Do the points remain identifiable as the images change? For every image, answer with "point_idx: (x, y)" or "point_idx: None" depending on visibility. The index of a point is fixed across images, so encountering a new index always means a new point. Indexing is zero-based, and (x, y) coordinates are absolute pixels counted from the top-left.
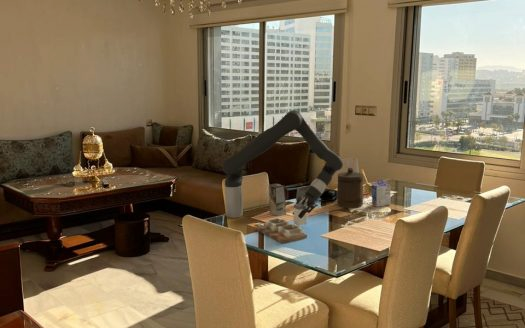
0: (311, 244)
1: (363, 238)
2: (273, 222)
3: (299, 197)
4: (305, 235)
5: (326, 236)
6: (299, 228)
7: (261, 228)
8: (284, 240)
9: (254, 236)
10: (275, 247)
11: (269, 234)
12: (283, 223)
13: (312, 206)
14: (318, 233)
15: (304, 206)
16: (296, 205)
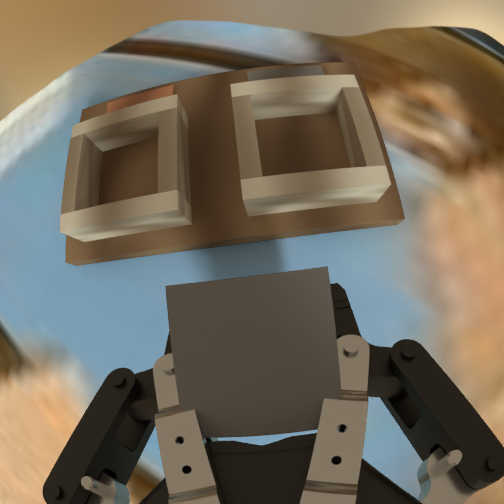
0: (14, 238)
1: (5, 469)
2: (350, 134)
3: (484, 462)
4: (67, 252)
5: (52, 375)
6: (66, 211)
7: (307, 66)
8: (81, 121)
9: (253, 40)
10: (80, 88)
11: (201, 78)
12: (238, 154)
13: (111, 473)
14: (104, 373)
15: (184, 404)
16: (250, 286)
